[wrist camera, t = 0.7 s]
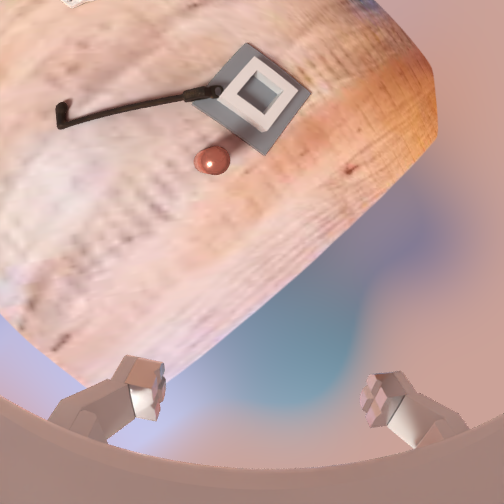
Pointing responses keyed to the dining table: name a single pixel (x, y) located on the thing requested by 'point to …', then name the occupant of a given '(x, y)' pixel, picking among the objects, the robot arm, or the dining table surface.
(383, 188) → the dining table surface
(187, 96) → the black hooked rod
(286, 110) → the socket board
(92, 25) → the dining table surface
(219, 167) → the pin
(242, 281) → the dining table surface
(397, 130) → the dining table surface
